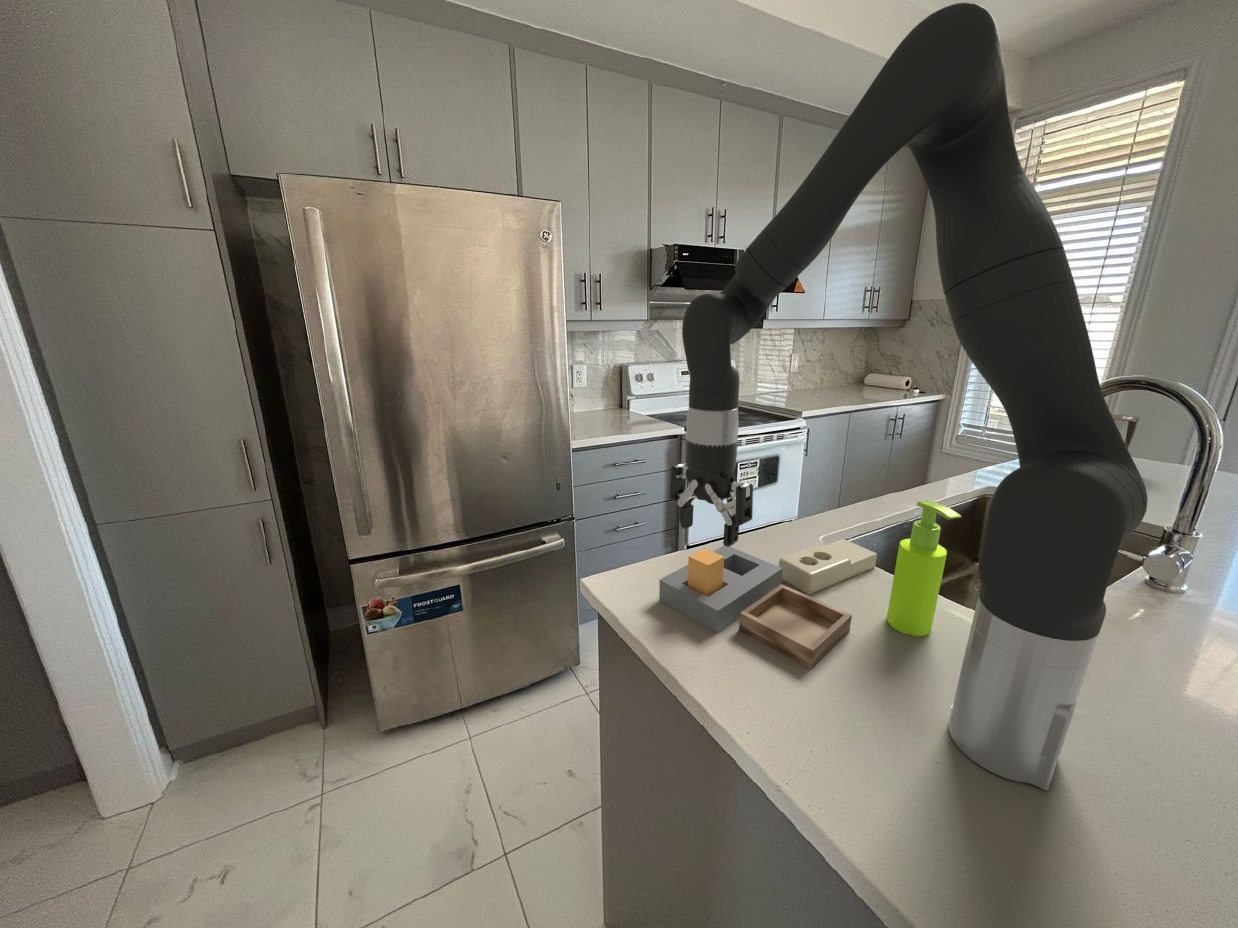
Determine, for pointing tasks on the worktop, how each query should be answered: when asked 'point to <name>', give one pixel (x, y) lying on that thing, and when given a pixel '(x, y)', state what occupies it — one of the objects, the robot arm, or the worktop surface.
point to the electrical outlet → (825, 565)
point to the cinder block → (740, 589)
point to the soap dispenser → (919, 573)
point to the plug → (705, 572)
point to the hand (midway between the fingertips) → (707, 535)
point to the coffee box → (1126, 427)
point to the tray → (795, 624)
